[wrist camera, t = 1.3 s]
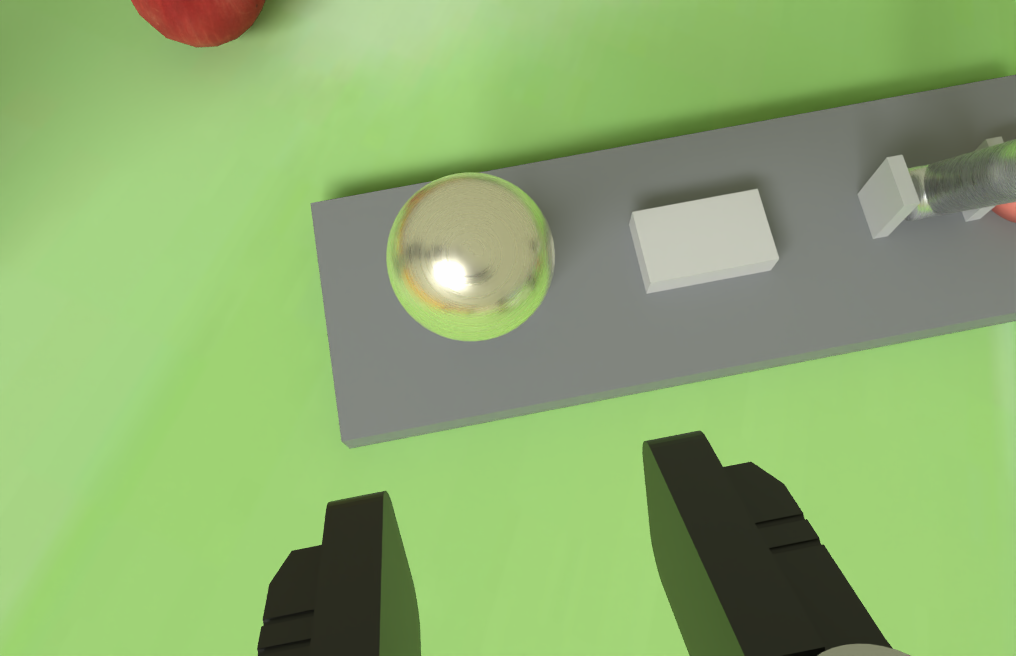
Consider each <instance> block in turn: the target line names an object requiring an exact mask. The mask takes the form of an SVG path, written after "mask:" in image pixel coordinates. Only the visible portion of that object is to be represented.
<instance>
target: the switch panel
mask: <svg viewBox="0 0 1016 656" xmlns="http://www.w3.org/2000/svg"><path fill="white" fill-rule="evenodd" d="M1014 139H1016V75H1012V76H1006V77H1001V78H995V79H990V80H984V81H979V82H973V83H968V84H962V85H957V86H951V87H946V88H940V89H935V90H929V91H924V92H918V93H913V94H907V95H902V96H896V97H891V98H885V99H880V100H874V101H869V102H863V103H858V104H853V105H847V106H842V107H836V108H831V109H825V110H820V111H814V112H809V113H803V114H798V115H792V116H787V117H781V118H776V119H770V120H765V121H759V122H754V123H748V124H743V125H737V126H732V127H726V128H721V129H715V130H710V131H704V132H699V133H693V134H688V135H682V136H677V137H671V138H666V139H661V140H655V141H650V142H644V143H639V144H633V145H628V146H622V147H617V148H611V149H606V150H600V151H595V152H589V153H584V154H578V155H573V156H567V157H562V158H556V159H551V160H545V161H540V162H534V163H529V164H523V165H518V166H512V167H507V168H501V169H496V170H490V171H485V172H479V173H483V174H489V175H493V176H496V177H499V178H502V179H504V180H506V181H509V182H510V183H512V184H514V185H515V186H517V187H519V188H520V189H521V190H522V191H524V192H525V193H526V194H527V195H528V196H529V197H530V198H531V199H532V200H533V201H534V202H535V203H536V204H537V206H538V207H539V209H540V210H541V211H542V213H543V215H544V217H545V218H546V220H547V222H548V225H549V228H550V230H551V233H552V237H553V241H554V249H555V265H554V272H553V277H552V281H551V284H550V287H549V289H548V291H547V294H546V296H545V298H544V299H543V301H542V303H541V304H540V306H539V307H538V308H537V310H536V311H535V312H534V313H533V314H532V315H531V316H530V317H529V318H528V319H527V320H526V321H525V322H524V323H523V324H521V325H520V326H519V327H517V328H516V329H514V330H512V331H510V332H508V333H507V334H504V335H502V336H499V337H496V338H492V339H489V340H483V341H459V340H453V339H450V338H446V337H443V336H440V335H438V334H436V333H433V332H431V331H430V330H428V329H426V328H425V327H423V326H422V325H421V324H419V323H418V322H417V321H415V320H414V319H413V318H412V317H411V316H410V315H409V314H408V313H407V311H406V310H405V309H404V307H403V306H402V305H401V303H400V302H399V300H398V298H397V297H396V295H395V293H394V290H393V288H392V285H391V283H390V279H389V275H388V270H387V262H386V250H387V243H388V238H389V234H390V230H391V227H392V225H393V223H394V220H395V218H396V217H397V215H398V213H399V211H400V210H401V208H402V207H403V206H404V204H405V203H406V202H407V201H408V200H409V199H410V198H411V197H412V196H413V195H414V194H415V193H416V192H417V191H418V190H420V189H421V188H422V187H424V186H425V185H427V184H429V183H431V182H432V181H430V182H425V183H419V184H414V185H408V186H403V187H397V188H392V189H386V190H381V191H375V192H370V193H364V194H359V195H353V196H348V197H342V198H337V199H331V200H326V201H320V202H315V203H311V210H312V218H313V226H314V233H315V241H316V249H317V256H318V264H319V272H320V279H321V287H322V294H323V302H324V310H325V317H326V325H327V333H328V340H329V348H330V356H331V363H332V371H333V379H334V386H335V394H336V402H337V409H338V417H339V425H340V432H341V440H342V442H343V443H344V444H345V445H346V446H348V447H349V448H355V447H360V446H365V445H370V444H375V443H381V442H386V441H391V440H396V439H402V438H407V437H412V436H417V435H422V434H428V433H433V432H438V431H443V430H449V429H454V428H459V427H464V426H469V425H475V424H480V423H485V422H490V421H495V420H501V419H506V418H511V417H516V416H522V415H527V414H532V413H537V412H542V411H548V410H553V409H558V408H563V407H568V406H574V405H579V404H584V403H589V402H595V401H600V400H605V399H610V398H615V397H621V396H626V395H631V394H636V393H641V392H647V391H652V390H657V389H662V388H668V387H673V386H678V385H683V384H688V383H694V382H699V381H704V380H709V379H715V378H720V377H725V376H730V375H735V374H741V373H746V372H751V371H756V370H761V369H767V368H772V367H777V366H782V365H788V364H793V363H798V362H803V361H808V360H814V359H819V358H824V357H829V356H834V355H840V354H845V353H850V352H855V351H861V350H866V349H871V348H876V347H881V346H887V345H892V344H897V343H902V342H908V341H913V340H918V339H923V338H928V337H934V336H939V335H944V334H949V333H954V332H960V331H965V330H970V329H975V328H981V327H986V326H991V325H996V324H1001V323H1007V322H1012V321H1016V202H1012V203H1006V204H1001V205H995V206H990V207H984V208H978V209H973V210H967V211H961V212H956V213H950V214H945V215H939V216H934V217H928V218H923V219H918V220H912V221H907V220H905V218H906V217H907V216H908V215H909V214H910V213H911V212H912V211H913V210H914V209H915V208H916V207H917V206H918V205H919V204H920V201H919V198H918V195H917V193H916V190H915V187H914V185H913V182H912V179H911V176H910V174H909V171H908V168H911V167H917V166H922V165H928V164H932V163H936V162H939V161H942V160H946V159H949V158H953V157H956V156H959V155H963V154H966V153H970V152H973V151H976V150H980V149H983V148H987V147H990V146H993V145H997V144H1000V143H1004V142H1007V141H1011V140H1014Z"/></svg>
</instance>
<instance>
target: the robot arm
mask: <svg viewBox="0 0 1016 656" xmlns="http://www.w3.org/2000/svg"><path fill="white" fill-rule="evenodd" d="M643 463H644V474H645V484H646V494H647V505H648V515H649V525H650V535H651V542H652V547H653V552H654V557H655V561H656V565H657V569H658V572H659V576H660V579H661V582H662V585H663V587H664V590H665V592H666V595H667V598H668V600H669V603H670V606H671V608H672V611H673V613H674V616H675V619H676V621H677V624H678V626H679V629H680V632H681V634H682V637H683V640H684V642H685V645H686V647H687V650H688V653H689V655H690V656H910V655H908V654H905V653H903V652H901V651H898V650H895V649H893V648H892V647H891V646H890V644H889V643H888V642H887V640H886V639H885V638H884V636H883V635H882V633H881V631H880V630H879V628H878V627H877V625H876V624H875V622H874V621H873V619H872V618H871V616H870V615H869V613H868V612H867V610H866V609H865V607H864V606H863V604H862V602H861V601H860V599H859V598H858V596H857V595H856V593H855V592H854V590H853V589H852V587H851V586H850V584H849V583H848V581H847V580H846V578H845V577H844V575H843V573H842V572H841V570H840V569H839V567H838V566H837V564H836V563H835V561H834V560H833V558H832V557H831V555H830V554H829V552H828V551H827V549H826V547H825V546H824V544H823V545H821V543H820V540H819V537H818V535H817V534H816V532H815V531H814V529H813V528H812V526H811V525H810V523H809V522H808V520H807V519H806V520H805V519H804V516H803V512H802V511H801V509H800V508H799V506H798V505H797V503H796V502H795V500H794V499H793V497H792V496H791V494H790V492H789V491H788V489H787V488H786V486H785V485H784V484H783V483H782V482H780V481H779V480H777V479H776V478H774V477H773V476H771V475H770V474H768V473H767V472H766V471H764V470H763V469H761V468H760V467H758V466H757V465H755V464H754V463H752V462H747V463H742V464H737V465H732V466H727V467H723V466H722V465H721V463H720V461H719V459H718V457H717V456H716V454H715V452H714V450H713V449H712V447H711V445H710V443H709V442H708V440H707V438H706V436H705V435H704V434H703V432H701V431H695V432H690V433H685V434H680V435H674V436H669V437H664V438H659V439H654V440H649V441H644V442H643ZM263 623H264V626H262V627H261V632H260V637H259V642H258V648H257V650H258V656H421V641H420V622H419V613H418V605H417V599H416V593H415V588H414V584H413V580H412V576H411V572H410V568H409V565H408V561H407V557H406V554H405V550H404V546H403V543H402V539H401V535H400V532H399V528H398V524H397V521H396V517H395V513H394V510H393V506H392V502H391V499H390V497H389V494H388V493H387V491H383V492H377V493H372V494H367V495H362V496H357V497H352V498H346V499H341V500H336V501H331V502H329V503H328V504H327V508H326V515H325V524H324V532H323V540H322V545H319V546H314V547H309V548H304V549H299V550H294V551H291V553H290V554H289V556H288V557H287V559H286V560H285V562H284V563H283V565H282V566H281V568H280V569H279V571H278V572H277V574H276V575H275V577H274V578H273V580H272V581H271V583H270V584H269V589H268V594H267V600H266V605H265V610H264V616H263Z"/></svg>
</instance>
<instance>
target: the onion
mask: <svg viewBox="0 0 1016 656" xmlns="http://www.w3.org/2000/svg"><path fill="white" fill-rule="evenodd" d="M131 1H132V3H133V5H134V6H135V8H136V10H137V11H138V13H139V15H140V16H142V17H143V18H144V19H145V20H146V21H147V22H148V23H150V24H151V25H152V26H153V27H154V28H155V29H157V30H158V31H159V32H160V33H161V34H162V35H164V36H165V37H166V38H168V39H171V40H174V41H178V42H181V43H184V44H187V45H190V46H194V47H212V46H219V45H221V44H224V43H227V42H229V41H232V40H234V39H237V38H238V37H239V36H240V35H242V34H243V33H244V32H245V31H246V30H247V29H248V28H250V27H251V26H252V25H253V23H254V22H255V20H256V18H257V17H258V15H259V13H260V12H261V10H262V8H263V6H264V3H265V0H131Z"/></svg>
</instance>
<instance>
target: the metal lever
mask: <svg viewBox="0 0 1016 656" xmlns="http://www.w3.org/2000/svg"><path fill="white" fill-rule="evenodd" d="M386 262H387V270H388V275H389V279H390V283H391V285H392V288H393V290H394V293H395V295H396V297H397V298H398V300H399V302H400V303H401V305H402V306H403V307H404V309H405V310H406V311H407V313H408V314H409V315H410V316H411V317H412V318H413V319H414V320H415V321H417V322H418V323H419V324H421V325H422V326H423V327H425V328H426V329H428V330H430V331H431V332H433V333H436V334H438V335H440V336H443V337H446V338H450V339H453V340H459V341H483V340H489V339H492V338H496V337H499V336H502V335H504V334H507V333H508V332H510V331H512V330H514V329H516V328H517V327H519V326H520V325H521V324H523V323H524V322H525V321H526V320H527V319H528V318H529V317H530V316H531V315H532V314H533V313H534V312H535V311H536V310H537V308H538V307H539V306H540V304H541V303H542V301H543V299H544V298H545V296H546V294H547V291H548V289H549V287H550V284H551V281H552V277H553V272H554V265H555V249H554V241H553V237H552V233H551V230H550V228H549V225H548V222H547V220H546V218H545V217H544V215H543V213H542V211H541V210H540V209H539V207H538V206H537V204H536V203H535V202H534V201H533V200H532V199H531V198H530V197H529V196H528V195H527V194H526V193H525V192H524V191H522V190H521V189H520V188H519V187H517V186H515V185H514V184H512V183H510V182H509V181H506V180H504V179H502V178H499V177H496V176H493V175H489V174H483V173H470V172H466V173H457V174H452V175H448V176H444V177H442V178H439V179H437V180H434V181H432V182H431V183H429V184H427V185H425V186H424V187H422V188H421V189H420V190H418V191H417V192H416V193H415V194H414V195H413V196H412V197H411V198H410V199H409V200H408V201H407V202H406V203H405V204H404V206H403V207H402V208H401V210H400V211H399V213H398V215H397V217H396V218H395V220H394V223H393V225H392V227H391V230H390V234H389V238H388V243H387V250H386Z"/></svg>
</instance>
